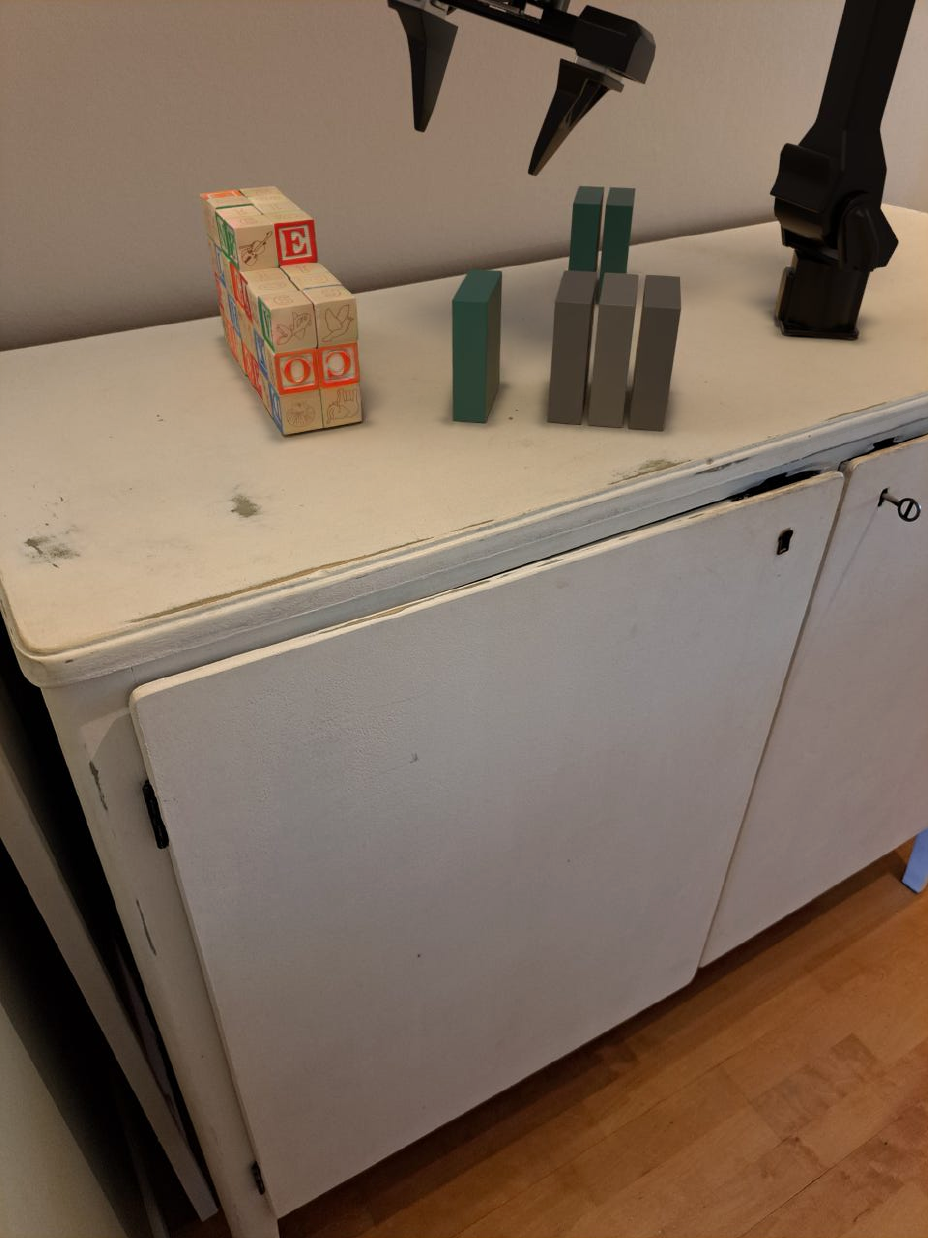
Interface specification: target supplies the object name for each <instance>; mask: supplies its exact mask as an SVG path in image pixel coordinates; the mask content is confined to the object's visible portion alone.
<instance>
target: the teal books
mask: <svg viewBox="0 0 928 1238" xmlns="http://www.w3.org/2000/svg"><path fill="white" fill-rule="evenodd" d="M604 198H605V186H591V185H579V186H578V187H577V191H576V193H575V197H574V200H573V203H572V211H571V213H572V214H571V226H570V227H571V228H570V241H569V255H568V257H569V258H568V269H567V270H569V271H587V272H597V273H598V268H599V275H598V277H599V278H598V286H597V296H596V297H597V298H596V304H597V305H599V301H600V296H601V290H602V285H603V279H604V274H605V273H624V274H628V273H627V272H628V265H629V264H628V263H629V256H630V255H629V253H630V244H631V237H632V236H631V235H632V226H633V216H634V208H635V198H636V187H618V186H617V187H614V186H610V187H609V189H608V193H607V198H606V203H605V211H604V209H603V208H604V200H605V199H604ZM603 211H604V220H603ZM602 220H603V232H602ZM601 232H602V244H601V243H600V242H601ZM600 244H601V252H600ZM600 253H601V254H600ZM599 255H600V263H599ZM599 264H600V265H599ZM598 265H599V267H598Z"/></svg>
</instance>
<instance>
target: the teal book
mask: <svg viewBox="0 0 928 1238" xmlns="http://www.w3.org/2000/svg"><path fill="white" fill-rule="evenodd" d="M502 293H503V271H502V270H493V269H492V270H490V269H475V268H470V269H468V270H467V273H466V274H465V276H464V279H463V280H462V282H461V284H460V285H459V287H458V288H457V291H456V292H455V294H454V295H453V298H452V299H451V341H452V342H451V353H452V356H451V358H452V361H451V363H452V367H451V368H452V372H451V373H452V421H457V422H469V423H470V422H471V423H482V424H485V423H486V422H487V420H488V418H489V414H490V412H491V409H492V407H493V403H494V401H495V398H496V395H497V393H498V389H499V387H500V373H501V372H500V371H501V369H500V368H501V335H502V334H501V333H502V331H501V329H502V300H503V299H502V297H503V294H502Z"/></svg>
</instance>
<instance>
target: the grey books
mask: <svg viewBox="0 0 928 1238" xmlns="http://www.w3.org/2000/svg"><path fill="white" fill-rule="evenodd" d="M598 274H599V273H598V271H597V272H587V271H569V270H568V269H565V270H564V271H563V273H562V277H561V280H560V284H559V287H558V289H557V290H558V291H557V294H556V297H555V300H554V311H553V312H554V313H553V326H552V327H553V329H552V344H551V359H550V360H551V361H550V374H549V375H550V376H549V391H548V405H547V422H548V423H557V424H559V423H560V424H568V425H569V424H571V425H582V421H583V416H584V411H585V410H584V409H585V403H586V398H587V392H588V386H589V377H590V376H589V375H590V365H591V353H592V343H593V341H592V340H593V331H594V319H595V310H596V309H595V307H596V299H597V298H596V297H597V288H598V286H597V285H598V277H599V275H598ZM639 276H640V275H639V274H638V273H626V274H624V273H605V274H604V279H603V285H602V290H601V296H600V301H599V304H598V309H597V320H596V333H595V343H594V354H593V365H592V374H591V375H592V376H591V387H590V396H589V398H590V399H589V407H588V408H589V409H588V418H587V425H588V426H594V427H595V426H596V427H597V426H598V427H609V428H622V427H623V421H624V411H625V403H626V395H627V386H628V377H629V371H630V361H631V353H632V343H633V337H634V336H633V335H634V328H635V320H636V319H635V318H636V311H637V301H638V291H639V289H638V288H639ZM643 285H644V286H643V293H642V294H643V295H642V301H641V310H640V319H639V328H638V336H637V341H636V342H637V344H636V352H635V360H634V367H633V376H632V385H631V394H630V395H631V396H630V408H629V419H628V429H631V430H643V431H657V432H663V431H664V429H665V428H664V427H665V421H666V413H667V407H668V401H669V394H670V389H671V387H670V386H671V381H672V373H673V367H674V360H675V354H676V347H677V340H678V333H679V328H680V327H679V326H680V321H681V320H680V319H681V313H682V293H681V292H682V290H681V289H682V288H681V276H679V275H678V276H677V275H676V276H675V275H661V274H645V277H644V284H643Z"/></svg>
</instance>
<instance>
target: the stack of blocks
mask: <svg viewBox="0 0 928 1238" xmlns="http://www.w3.org/2000/svg"><path fill="white" fill-rule="evenodd" d="M199 199H200V203H201V204H200V205H201V209H202V215H203V219H204V225H205V230H206V237H207V243H208V248H209V250H208V251H209V254H210V255H209V256H210V262H211V267H212V269H213V272H214V278H215V284H216V289H217V295H218V301H219V312H220V317H221V323H222V328H223V332H224V338H225V340H226V342H227V344H228V346H229V347H230V350H231V353H232V354H233V356H234V357H235V360H236V362H238V364H239V366H240V368H241V369H242V371H243V373H244V374H245V375H247V376H248V379H249V381H250V382H251V383H252V385H253V387H254V388H256V390H257V392H258V394H259V396H260V398H261V399H262V402H263V404H264V407H265V408H266V409H267V412H268V413H269V415H270V417H272V419H273V420H274V423H275V424H276V426H277V427H278V429H279V430H280V433H281V434H282V435H283V436H286V435H291V434H297V433H302V432H309V431H315V430H320V429H325V428H331V427H336V426H342V425H347V424H353V423H354V424H355V423H359V422H362V421H363V411H362V409H363V408H362V397H361V386H360V383H361V374H360V373H361V372H360V360H359V347H358V341H359V324H358V323H359V322H358V310H357V298H356V296H355V295H353V293H352V292H350V291H349V290H348V289H347V288H346V287H345V286H344V285H343V283H342V282H341V281H340V280H338V278H336V277H335V276H334V275H333V274H332V273H330V271H329V270H328V269H327V268H326V267H325V266H324V265H323V264H321V263H319V255H318V247H317V236H316V226H315V219H314V218H313V217H312V216H310V215H309V214H308V213H307V212H306V211H304V210H302V209H301V208H300V207H299V206H298V205H296V204H295V203H294V202H293V201H292V200H291V199H289V198H288V197H287V196H286V195H284V193H283V192H282V191H281V190H280V189H279V188H277V187H276V186H275V185H268V186H258V187H248V188H247V187H246V188H239V189H229V190H228V189H227V190H219V191H212V192H211V191H209V192H202V193H199Z"/></svg>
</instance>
